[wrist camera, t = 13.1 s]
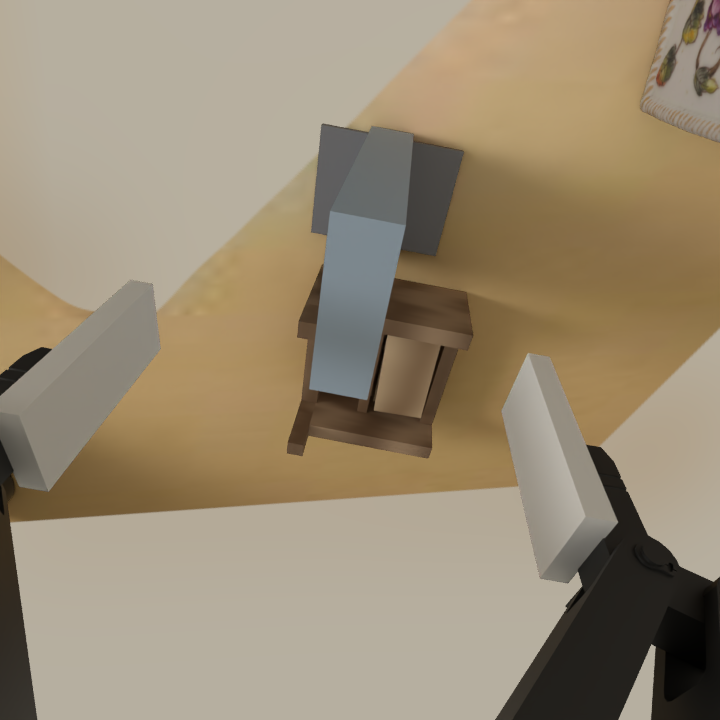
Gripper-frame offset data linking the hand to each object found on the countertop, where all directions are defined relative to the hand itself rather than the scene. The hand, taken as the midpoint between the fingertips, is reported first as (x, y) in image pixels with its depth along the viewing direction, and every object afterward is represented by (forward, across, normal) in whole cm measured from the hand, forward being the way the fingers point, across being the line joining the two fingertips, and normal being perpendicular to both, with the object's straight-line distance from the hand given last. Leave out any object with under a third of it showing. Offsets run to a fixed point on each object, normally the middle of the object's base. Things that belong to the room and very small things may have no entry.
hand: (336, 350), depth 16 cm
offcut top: (+16, +5, -11) cm, 20 cm away
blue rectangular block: (+18, 0, 0) cm, 18 cm away
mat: (+18, +1, 0) cm, 18 cm away
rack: (+18, +3, -12) cm, 22 cm away
